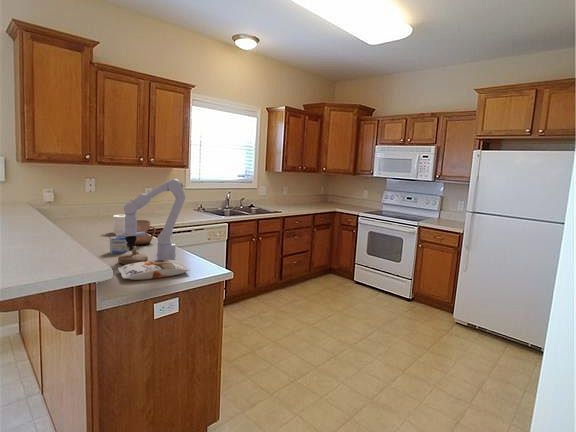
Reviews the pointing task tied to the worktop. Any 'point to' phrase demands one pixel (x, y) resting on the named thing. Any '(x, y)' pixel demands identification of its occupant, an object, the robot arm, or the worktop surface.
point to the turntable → (132, 257)
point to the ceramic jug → (143, 227)
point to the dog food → (152, 269)
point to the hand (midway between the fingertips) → (130, 250)
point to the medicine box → (117, 245)
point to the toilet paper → (118, 224)
